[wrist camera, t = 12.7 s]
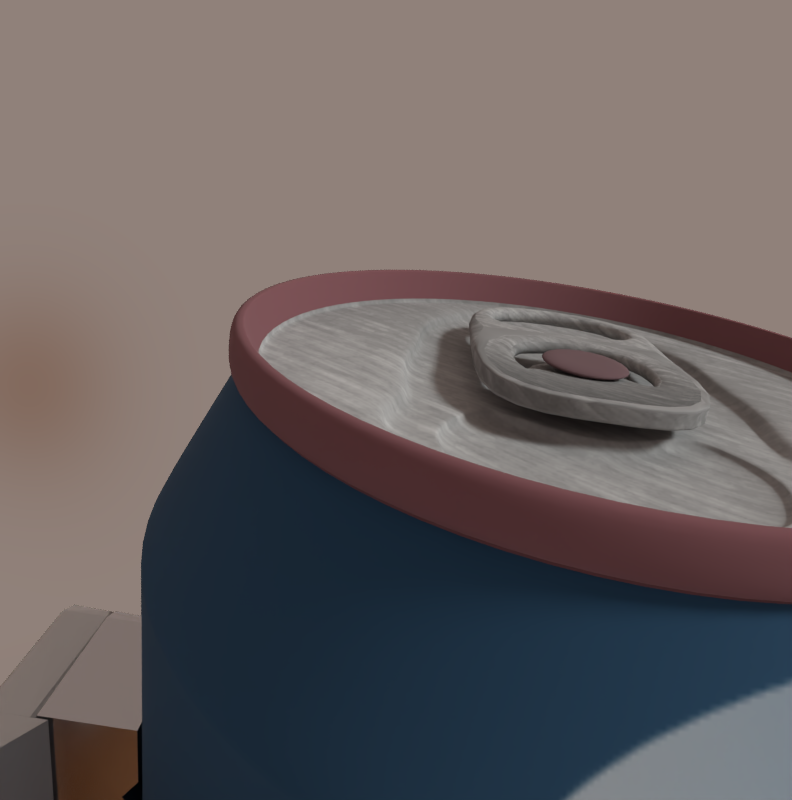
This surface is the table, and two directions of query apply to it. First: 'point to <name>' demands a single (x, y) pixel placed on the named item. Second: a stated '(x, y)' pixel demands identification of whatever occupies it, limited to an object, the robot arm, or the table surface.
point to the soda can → (475, 552)
